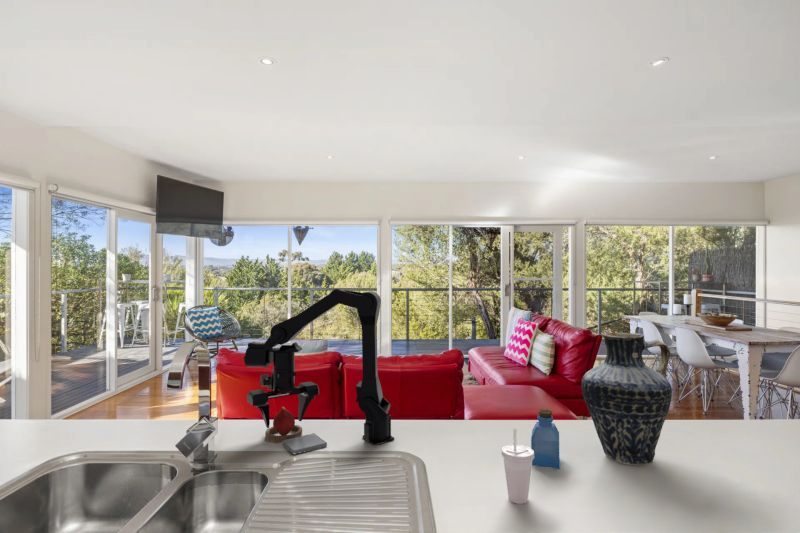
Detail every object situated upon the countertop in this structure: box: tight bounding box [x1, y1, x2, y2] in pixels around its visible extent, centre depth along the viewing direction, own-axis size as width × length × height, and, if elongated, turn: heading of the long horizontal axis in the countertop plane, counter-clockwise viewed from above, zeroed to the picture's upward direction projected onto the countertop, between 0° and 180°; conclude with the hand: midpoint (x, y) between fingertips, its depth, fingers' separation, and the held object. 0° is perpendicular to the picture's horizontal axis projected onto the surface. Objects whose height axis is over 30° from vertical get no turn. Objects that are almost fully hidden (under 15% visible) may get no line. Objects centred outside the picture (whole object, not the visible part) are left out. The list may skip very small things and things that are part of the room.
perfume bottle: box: [530, 408, 560, 470], centre depth 107 cm, size 6×6×12 cm
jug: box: [581, 331, 673, 466], centre depth 109 cm, size 21×19×30 cm
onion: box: [272, 406, 296, 436], centre depth 125 cm, size 6×6×8 cm
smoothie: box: [501, 427, 534, 505], centre depth 90 cm, size 6×6×14 cm
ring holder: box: [264, 424, 303, 444], centre depth 125 cm, size 10×10×2 cm
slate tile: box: [282, 433, 328, 454], centre depth 118 cm, size 9×8×1 cm
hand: (284, 424), depth 125 cm, fingers open, 9 cm apart
